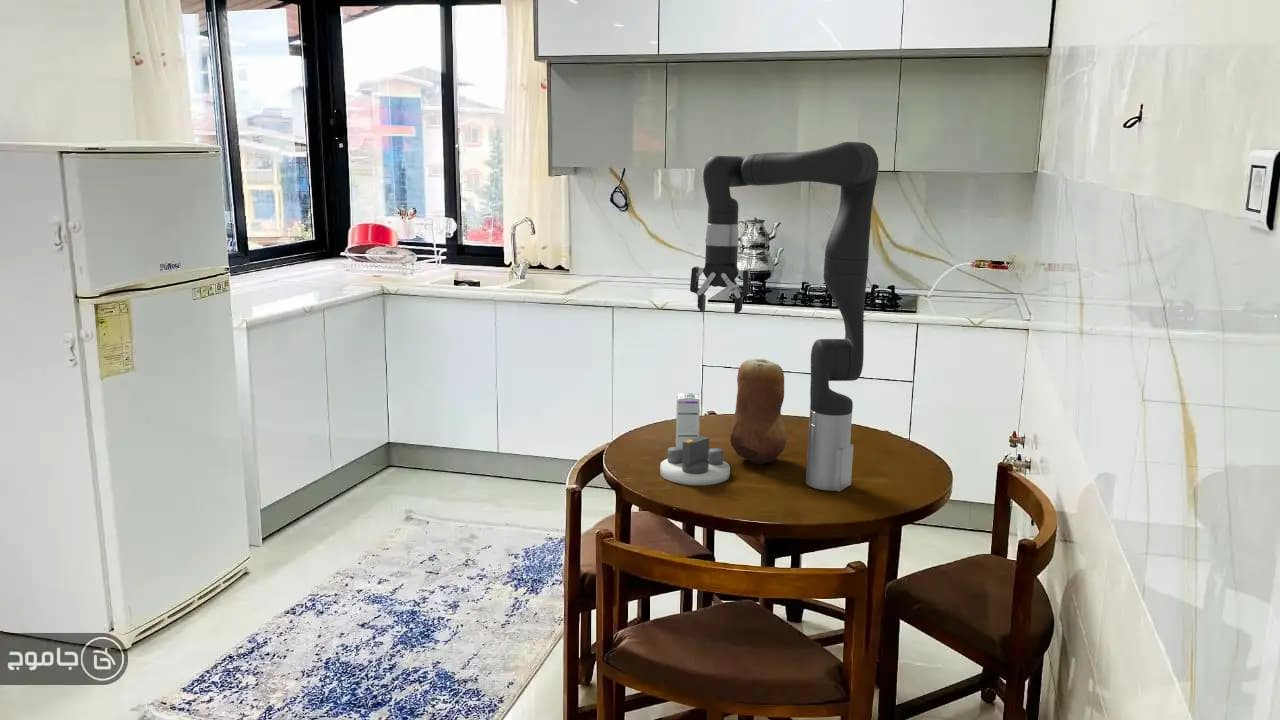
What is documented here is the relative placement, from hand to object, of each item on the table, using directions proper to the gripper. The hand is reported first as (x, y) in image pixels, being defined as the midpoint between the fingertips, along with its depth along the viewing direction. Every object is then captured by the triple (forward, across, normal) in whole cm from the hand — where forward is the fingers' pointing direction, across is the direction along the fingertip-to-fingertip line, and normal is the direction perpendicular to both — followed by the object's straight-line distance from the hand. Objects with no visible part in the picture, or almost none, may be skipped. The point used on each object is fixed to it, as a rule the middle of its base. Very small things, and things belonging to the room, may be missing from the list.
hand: (719, 312), depth 224 cm
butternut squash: (+36, -10, -2) cm, 38 cm away
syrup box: (+36, +8, -2) cm, 37 cm away
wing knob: (+34, -1, +17) cm, 38 cm away
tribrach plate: (+36, 0, +13) cm, 38 cm away
